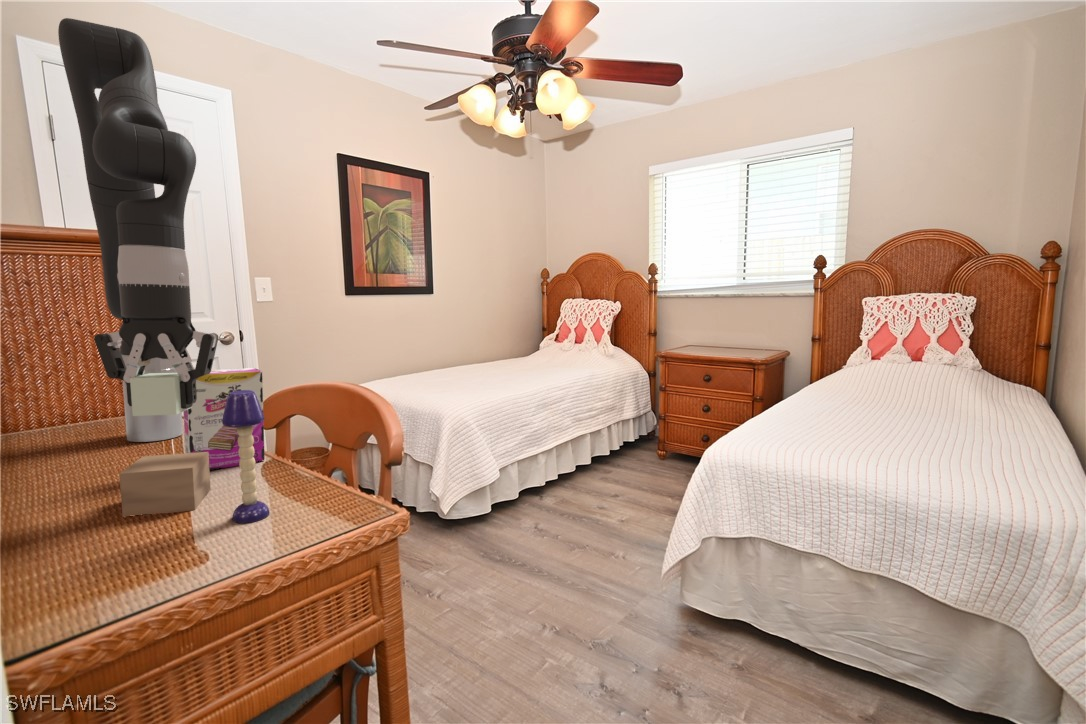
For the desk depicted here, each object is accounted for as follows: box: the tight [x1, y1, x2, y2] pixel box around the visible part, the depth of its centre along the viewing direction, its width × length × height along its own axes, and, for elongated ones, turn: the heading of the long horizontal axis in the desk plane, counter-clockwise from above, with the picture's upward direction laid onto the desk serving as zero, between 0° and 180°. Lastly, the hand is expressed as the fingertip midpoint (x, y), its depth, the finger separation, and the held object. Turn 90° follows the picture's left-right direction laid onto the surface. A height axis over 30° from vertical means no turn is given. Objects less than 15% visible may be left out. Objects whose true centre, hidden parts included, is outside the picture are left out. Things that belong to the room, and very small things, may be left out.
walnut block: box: [118, 452, 211, 518], centre depth 71 cm, size 8×8×6 cm
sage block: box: [130, 373, 192, 416], centre depth 70 cm, size 5×5×5 cm
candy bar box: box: [182, 367, 265, 471], centre depth 87 cm, size 11×5×16 cm, turn 135°
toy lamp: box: [222, 390, 270, 524], centre depth 66 cm, size 5×5×17 cm
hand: (163, 407), depth 70 cm, fingers closed on sage block, 5 cm apart
